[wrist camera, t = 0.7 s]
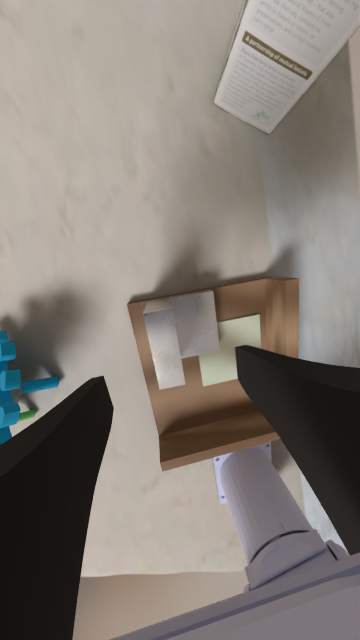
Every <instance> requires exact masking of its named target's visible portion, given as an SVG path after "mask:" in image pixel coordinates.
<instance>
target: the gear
mask: <svg viewBox="0 0 360 640" xmlns="http://www.w3.org/2000/svg"><path fill="white" fill-rule="evenodd" d="M7 341H8V335H7V333H6V332H5V331H0V445H1V444H3V443H4V442H6V441H7V440H9V439H10V438H12V435H11V432H10V429H9V426H10V425H14V424H16V423H17V422H19V421H22V420H25V419H29V418H32V417H34V416H35V411H34V410H30V411H26V412H23V413H20V407H19V405H18V404H17V403H18V401H19V398H20V396H21V394H23V393H28V392H33V391H38V390H43V389H49V388H54V387H58V385H59V378H58V377H51V378H44V379H38V380H31V381H25V382H21V371H20V370H19V369H17V370H8V368H7V364H8V360H14V359H15V357H16V347H15V342H7Z"/></svg>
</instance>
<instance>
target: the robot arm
mask: <svg viewBox="0 0 360 640" xmlns="http://www.w3.org/2000/svg"><path fill="white" fill-rule="evenodd" d="M235 355H236V366H237V377H238V380H239V382H240V384H241V386H242V388H243V389H244V391H245V392H246V394H247V395H248V397H249V398H250V399H251V401H252V402H253V403H254V405H255V406H256V407H257V408H258V410H259V411H260V412H261V413H262V415H263V416H264V417H265V419H266V420H267V421H268V422H269V424H270V425H271V426H272V427H273V429H274V430H275V431H276V433H277V434H278V436H279V437H280V438H281V440H282V441H283V443H284V445H285V446H286V448H287V449H288V451H289V452H290V454H291V455H292V457H293V458H294V460H295V462H296V463H297V465H298V467H299V468H300V470H301V471H302V473H303V475H304V476H305V478H306V480H307V481H308V483H309V484H310V486H311V488H312V490H313V491H314V493H315V495H316V496H317V498H318V500H319V502H320V503H321V505H322V507H323V508H324V510H325V512H326V513H327V515H328V517H329V519H330V520H331V522H332V524H333V526H334V528H335V529H336V531H337V533H338V535H339V537H340V538H341V540H342V542H343V544H344V546H345V547H346V549H347V551H348V553H349V554H350V555H349V554H348V553H347V551H346V550H345V549H344V548H343V547H342V546H340V545H338V544H336V543H334V542H333V541H332V540H328V541H326V542H325V543H326V544H325V543H324V541H323V540H322V538H321V536H320V535H319V533H318V532H317V530H316V529H314V530H313V528H312V527H311V525H310V523H309V522H308V520H307V519H306V517H305V515H304V514H303V512H302V511H301V509H300V507H299V506H298V504H297V503H296V501H295V499H294V498H293V496H292V495H291V493H290V491H289V490H288V488H287V487H286V485H285V483H284V482H283V480H282V478H281V477H280V475H279V474H278V472H277V470H276V469H275V467H274V466H273V464H272V454H271V442H269V443H265V444H261V445H258V446H254V447H250V448H247V449H243V450H239V451H236V452H232V453H228V454H225V455H221V456H217V457H214V458H213V461H214V468H215V474H216V481H217V488H218V494H219V501H220V503H221V504H226V503H228V506H229V509H230V512H231V515H232V518H233V521H234V524H235V527H236V530H237V533H238V536H239V539H240V542H241V546H242V549H243V552H244V555H245V558H246V561H247V564H248V566H246V567H245V572H246V575H247V578H248V581H249V584H248V585H246V586H245V587H244V592H243V593H242V594H239V595H237V596H233V597H231V598H228V599H225V600H222V601H219V602H216V603H213V604H211V605H208V606H205V607H202V608H199V609H196V610H193V611H191V612H188V613H185V614H182V615H179V616H176V617H173V618H171V619H168V620H165V621H162V622H159V623H156V624H153V625H150V626H147V627H145V628H142V629H139V630H136V631H133V632H130V633H128V634H125V635H122V636H119V637H116V638H113V639H110V640H360V368H353V367H344V366H336V365H329V364H323V363H317V362H311V361H306V360H302V359H298V358H293V357H289V356H285V355H282V354H278V353H275V352H271V351H268V350H264V349H261V348H257V347H254V346H249V345H242V346H237V347H235ZM113 409H114V408H113V405H112V401H111V398H110V395H109V392H108V389H107V385H106V382H105V379H104V376H100V377H95V378H91V379H90V380H88V381H87V382H85V383H84V384H83V385H81V386H80V387H79V388H78V389H76V390H75V391H74V392H73V393H72V394H70V395H69V396H68V397H67V398H65V399H64V400H63V401H62V402H60V403H59V404H58V405H57V406H55V407H54V408H53V409H51V410H50V411H49V412H47V413H46V414H45V415H44V416H42V417H41V418H40V419H38V420H37V421H35V422H34V423H33V424H31V425H30V426H28V427H27V428H26V429H24V430H23V431H21V432H20V433H18V434H16V435H15V436H13V437H12V438H10V439H9V440H7V441H6V442H4V443H3V444H1V445H0V640H72V637H73V629H74V620H75V612H76V604H77V596H78V589H79V582H80V575H81V568H82V561H83V554H84V548H85V541H86V535H87V529H88V523H89V517H90V511H91V506H92V500H93V495H94V490H95V485H96V481H97V477H98V473H99V469H100V466H101V462H102V459H103V455H104V451H105V448H106V444H107V441H108V437H109V433H110V429H111V424H112V417H113Z"/></svg>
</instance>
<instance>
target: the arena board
mask: <svg viewBox="0 0 360 640" xmlns="http://www.w3.org/2000/svg"><path fill="white" fill-rule="evenodd" d="M268 278H274V277H268ZM268 278H262V279H257V280H251V281H246V282H240V283H235V284H229V285H224V286H218V287H213V288H207V289H202V290H197V291H191V292H186V293H180V294H175V295H169V296H164V297H158V298H153V299H147V300H142V301H136V302H131V303H128V304H127V306H128V310H129V314H130V318H131V322H132V327H133V331H134V335H135V339H136V343H137V347H138V351H139V355H140V359H141V364H142V368H143V372H144V376H145V380H146V384H147V388H148V392H149V397H150V401H151V405H152V409H153V413H154V417H155V421H156V425H157V429H158V434H159V436H161V435H165V434H169V433H173V432H177V431H181V430H185V429H189V428H193V427H197V426H201V425H204V424H208V423H212V422H216V421H220V420H224V419H228V418H232V417H236V416H240V415H244V414H248V413H252V412H256V411H259V410H258V408H257V407H256V406H255V405H254V403H253V402H252V401H251V399H250V398H249V397H248V395H247V394H246V392H245V391H244V389H243V388H242V386H241V384H240V382H239V380H238V377H237V366H236V355H235V347H237V346H242V345H249V346H254V347H257V348H261V349H264V350H267V335H266V309H265V284H264V279H268ZM205 290H212V291H213V294H214V303H215V311H216V320H217V329H218V338H219V347H220V351H218V352H213V353H208V354H203V355H197V356H192V357H187V358H182V359H181V361H182V367H183V372H184V378H185V384H186V385H181V386H176V387H171V388H165V389H159V384H158V380H157V375H156V371H155V366H154V362H153V357H152V353H151V348H150V344H149V339H148V335H147V330H146V326H145V321H144V317H143V312H144V310H145V307H146V305H147V303H148V301H149V300H154V299H160V298H166V297H171V296H177V295H183V294H188V293H194V292H200V291H205Z"/></svg>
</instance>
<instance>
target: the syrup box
mask: <svg viewBox="0 0 360 640" xmlns="http://www.w3.org/2000/svg"><path fill="white" fill-rule="evenodd" d="M359 27H360V0H244V2H243V5H242V8H241V11H240V14H239V17H238V20H237V23H236V26H235V29H234V33H233V36H232V40H231V43H230V47H229V50H228V53H227V57H226V60H225V64H224V67H223V70H222V74H221V77H220V80H219V84H218V87H217V91H216V94H215V97H214V103H215V104H216V105H217V106H219V107H221V108H222V109H224V110H225V111H227V112H229V113H230V114H232V115H234V116H236V117H238V118H239V119H241V120H243V121H245V122H247V123H248V124H250V125H252V126H254V127H256V128H258V129H259V130H261V131H263V132H265V133H267V134H269V133H271V132H272V131H273V129H274V128H275V127H276V126H277V125H278V123H279V122H280V121H281V120H282V119H283V118H284V116H285V115H286V114H287V113H288V112H289V111H290V109H291V108H292V107H293V106H294V105H295V104H296V102H297V101H298V100H299V99H300V98H301V96H302V95H303V94H304V93H305V92H306V90H307V89H308V88H309V87H310V86H311V84H312V83H313V82H314V81H315V80H316V78H317V77H318V76H319V75H320V74H321V73H322V71H323V70H324V69H325V68H326V67H327V65H328V64H329V63H330V62H331V61H332V59H333V58H334V57H335V56H336V55H337V53H338V52H339V51H340V50H341V49H342V47H343V46H344V45H345V44H346V43H347V41H348V40H349V39H350V38H351V37H352V35H353V34H354V33H355V32H356V31H357V29H358V28H359Z"/></svg>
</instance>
